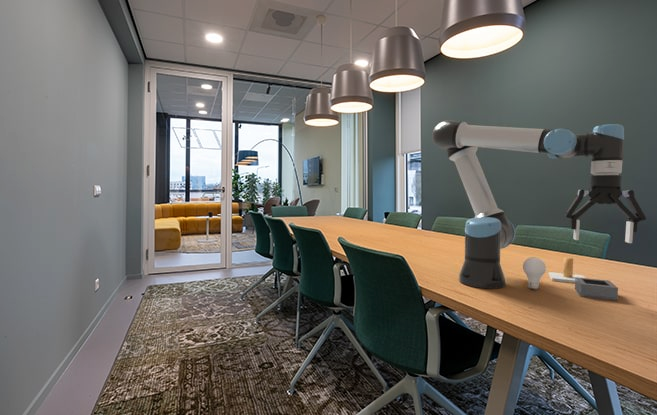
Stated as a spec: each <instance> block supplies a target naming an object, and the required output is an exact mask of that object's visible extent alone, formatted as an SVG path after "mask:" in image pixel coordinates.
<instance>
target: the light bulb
mask: <svg viewBox="0 0 657 415" xmlns="http://www.w3.org/2000/svg"><path fill="white" fill-rule="evenodd" d="M522 270H523V272H524V273H525V275H526V277H527V283H528V288H530V289H531V290H533V291H535V290H538V289H539V288H540V287H539V286H540V285H539V284H540V283H541V278H542V277H543V276H544V274H545V273H546V270H547V266H546V262H544V261H543V260H542V259H541V258H539V257H528V258H526V259H524V261H523V264H522Z"/></svg>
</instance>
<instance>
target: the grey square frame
mask: <svg viewBox="0 0 657 415" xmlns="http://www.w3.org/2000/svg"><path fill="white" fill-rule="evenodd" d="M574 289H575V290H574V291H576V293H577V294H578V295H579V297H581V298H590V299H591V298H592V299H598V300H607V301H616V302H617V301H618V296H619V287H618V286H616V285H615V284H614V283H612V281H611V280H608V279H607V280H606V279H598V278H588V277H585V278H579V277H575V283H574Z"/></svg>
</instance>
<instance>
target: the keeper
mask: <svg viewBox="0 0 657 415" xmlns="http://www.w3.org/2000/svg"><path fill="white" fill-rule="evenodd" d="M548 277H550V279H551V281H553V282H559V283H569V284H570V283H571V284H575V277H579V278H586V277H585V275H583V274H574V258H573V257H563V272H562V273H561V272H553V271H552V272H550V271H548Z"/></svg>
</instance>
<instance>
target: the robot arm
mask: <svg viewBox="0 0 657 415" xmlns="http://www.w3.org/2000/svg"><path fill="white" fill-rule="evenodd" d="M431 135H432V141H433V143H434V145H435V146H436V147H437V148H439V149H441V150H445V153H446V154H447V156H448V160H449V161H452V162H454V164H455V166H456V169H457V172H458V175H459V177H460V179H461V182H462V184H463V188H464V190H465V192H466V195H467V197H468V200H469V202H470V205H471V208H472V211H473V212H474V217H472V218H469V219H467V220H466V222H465V228H464V262H463V264H462V266H461V269H460V272H459V275H458V276H459V278H458V280H459V282H460V283H461V284H463V285H466V286H469V287H475V288H481V289H501V288H504V287H505V286H506V276H505V275H504V274H505V273H504V272H503V268H502V265H501V249H505V248H507V247H508V246H510V245H511V244H512V243H513V241H514V240H515V238H516V229H515V226H514V224H513V223H512V222H511V221H510V220H508V218H507V215H506V213H505V211H504V210H503V209H501V208H498V205H497V201H496V200H495V197H494V195H493V192H492V190H491V188H490V185H489V183H488V181H487V178H486V175H485V173H484V170H483V168H482V165H481V163H480V161H479V159H478V156H477V154H476V153H477V151H478V149H479V148H485V149H494V150H506V151H517V152H527V153H538V154H546V155H547V156H548V158H549V159H559V160H560V159H567V158H583V157H585V158H586V157H587V158H588V157H591V163H590V164H591V165H590V174H592V175H591V176H589V177H590V179H589V189H588V190H584V189H578V190H577V191H576V192H577V193H576V197H575V198H574V200H572V202H571V204H570V206H569V207H568V209H566V211H565V213H564V215H563V216H564V217H565V218H567V219H569V220H570V227H569V228H570V230H573V240H575V241H579V239H580V226H581V225H580V222H581V220H580V219H579V218H581V216H582V215H583V214H585V213H586V212H587V211H588V210H589V209H590V208H591V207H592V206H594V205H595V204H597V205H603V204H604V205H612V204H613V206H615V207H616V208H617V209H618V210H619V211H620V212H621V214H622V215H624V216H625V217H626V218H627V219H628V221H626V224H625V237H624V238H625V239H624V242H625V243H628V244H633V240H634V239H633V237H634V233H636V232H637V230H638V223H639V222H641V221H646V220H647V217H646V216H645V214H644V211H643V210H642V208H641V207H640V205H639V203H638V201H637V200H636V198H635V191H634V190H633V189H626V190H622V188H621V187H622V176H621V175H620V174H622V171H623V158H624V148H625V147H624V146H625V127H624V126H623V125H622V124H617V123H613V124H601V125H597V126H594V128H593V130H592V131H591V132H589V133H580V134H575V133H574V132H573V131H571V130H569V129H566V128H557V129H546V128H545V129H544V128H531V127H530V128H529V127H528V128H527V127H514V126H513V127H509V126H491V125H475V124H468V123H467V122H466V121H457V120H453V119H445V120H443V121H442V120H441V121H440V122H438V124H436V126H434V129H433V131H432V134H431ZM587 195H588V197H589V199H588V200H587V201H586V202H585V203H584V204H582V206H581V207H580V208H578V206H579V205H580V203H581V202H582V201H583V198H585V197H586V196H587ZM621 196H623V197H624V198H625V199H626V201H627V204H628V205H629V206H630V208H631V210H632V211H630V210H629V208H628V207H627V206H625V205H624V203H623V202H622V201H621V199H619V198H620V197H621ZM577 208H578V210H577ZM632 212H633V213H632Z"/></svg>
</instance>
